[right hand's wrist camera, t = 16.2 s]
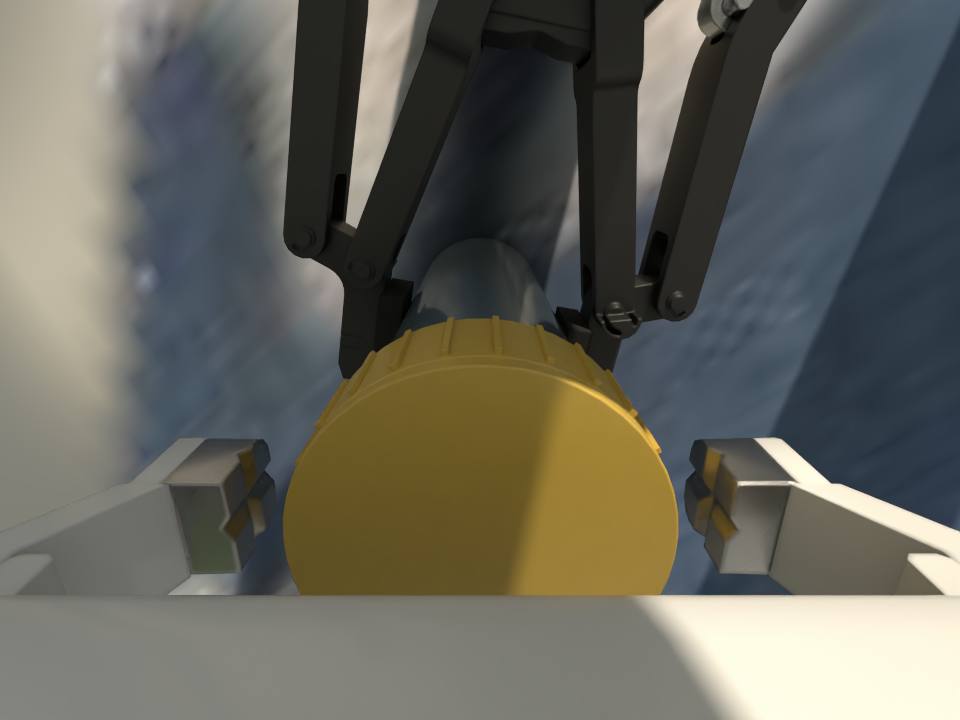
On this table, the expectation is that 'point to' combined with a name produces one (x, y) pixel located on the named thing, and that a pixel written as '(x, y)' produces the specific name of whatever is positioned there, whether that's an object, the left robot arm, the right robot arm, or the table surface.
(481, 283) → the bottle
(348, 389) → the lid
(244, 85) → the table surface
